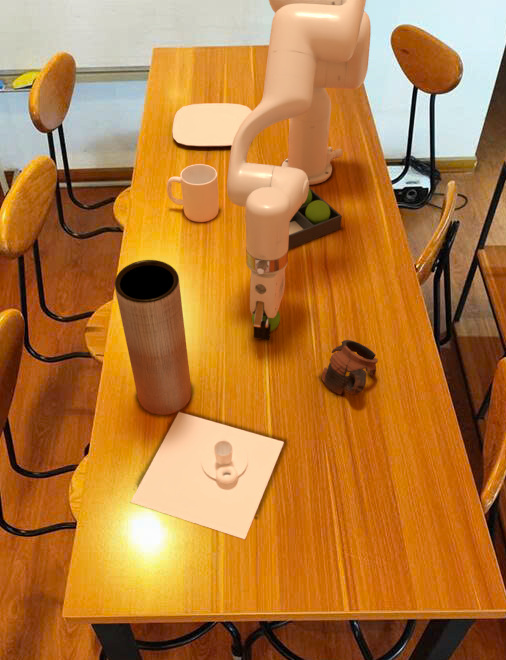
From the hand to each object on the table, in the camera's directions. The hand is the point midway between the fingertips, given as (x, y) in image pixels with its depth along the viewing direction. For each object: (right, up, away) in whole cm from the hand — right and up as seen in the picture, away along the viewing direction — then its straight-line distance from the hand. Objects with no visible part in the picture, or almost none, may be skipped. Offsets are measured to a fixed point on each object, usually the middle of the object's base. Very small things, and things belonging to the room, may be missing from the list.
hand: (265, 326), depth 137 cm
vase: (-19, -14, -10) cm, 25 cm away
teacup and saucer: (-10, -27, -21) cm, 35 cm away
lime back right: (+12, +28, +19) cm, 36 cm away
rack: (+8, +26, +22) cm, 35 cm away
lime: (0, +1, -2) cm, 2 cm away
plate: (-12, +58, +49) cm, 77 cm away
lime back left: (+9, +32, +23) cm, 41 cm away
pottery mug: (+15, -11, -9) cm, 21 cm away
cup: (-16, +30, +26) cm, 42 cm away
